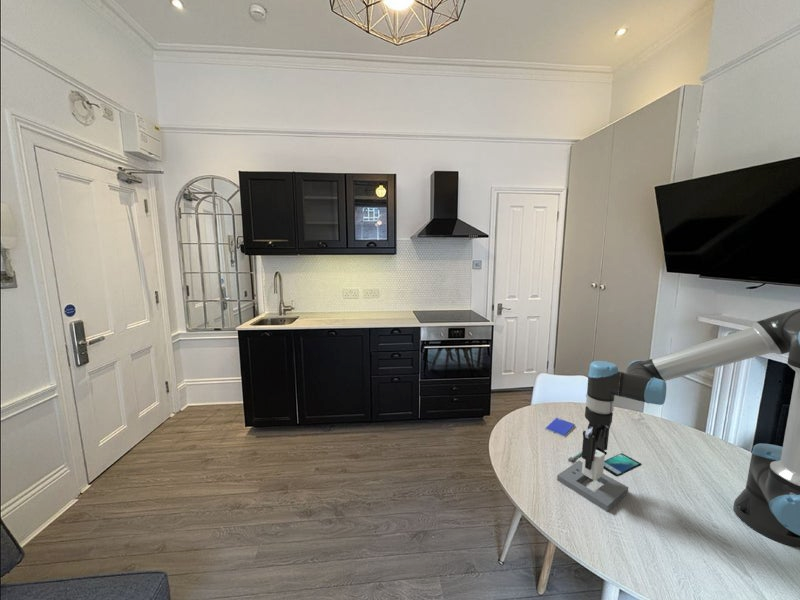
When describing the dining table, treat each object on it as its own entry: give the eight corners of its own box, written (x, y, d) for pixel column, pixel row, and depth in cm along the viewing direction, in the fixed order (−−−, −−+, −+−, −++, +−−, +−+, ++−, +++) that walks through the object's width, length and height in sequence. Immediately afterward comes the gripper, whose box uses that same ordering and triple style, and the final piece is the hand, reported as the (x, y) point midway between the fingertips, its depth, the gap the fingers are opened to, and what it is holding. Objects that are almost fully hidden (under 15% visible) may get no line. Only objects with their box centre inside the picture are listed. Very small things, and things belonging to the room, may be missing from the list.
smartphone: (596, 463, 117) (621, 452, 124) (596, 465, 118) (621, 454, 124) (616, 476, 111) (641, 463, 117) (616, 477, 111) (641, 465, 117)
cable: (589, 450, 126) (589, 448, 126) (571, 462, 119) (571, 460, 119) (586, 448, 127) (586, 446, 127) (568, 460, 120) (568, 458, 120)
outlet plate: (627, 492, 104) (628, 486, 103) (607, 511, 96) (607, 505, 96) (578, 465, 117) (579, 459, 117) (557, 480, 110) (557, 474, 109)
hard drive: (556, 417, 149) (545, 427, 140) (574, 424, 143) (564, 435, 135) (555, 420, 149) (544, 430, 141) (574, 427, 143) (564, 438, 135)
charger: (602, 475, 106) (605, 453, 104) (595, 480, 103) (598, 457, 102) (588, 467, 109) (590, 445, 108) (581, 472, 107) (583, 450, 106)
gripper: (600, 397, 110) (594, 458, 114) (572, 411, 101) (567, 477, 104) (624, 406, 104) (617, 470, 108) (597, 422, 95) (590, 491, 98)
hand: (592, 473), depth 106 cm, fingers closed on charger, 4 cm apart
